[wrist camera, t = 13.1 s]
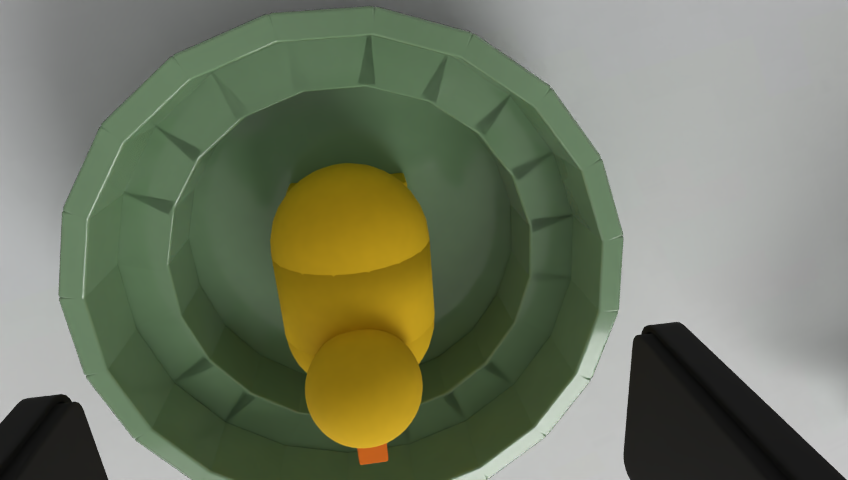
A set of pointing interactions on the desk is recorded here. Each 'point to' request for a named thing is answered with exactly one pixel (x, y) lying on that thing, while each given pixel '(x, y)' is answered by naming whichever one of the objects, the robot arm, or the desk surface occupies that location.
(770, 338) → the desk surface
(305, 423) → the bowl
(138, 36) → the desk surface
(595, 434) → the desk surface
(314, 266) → the duck
